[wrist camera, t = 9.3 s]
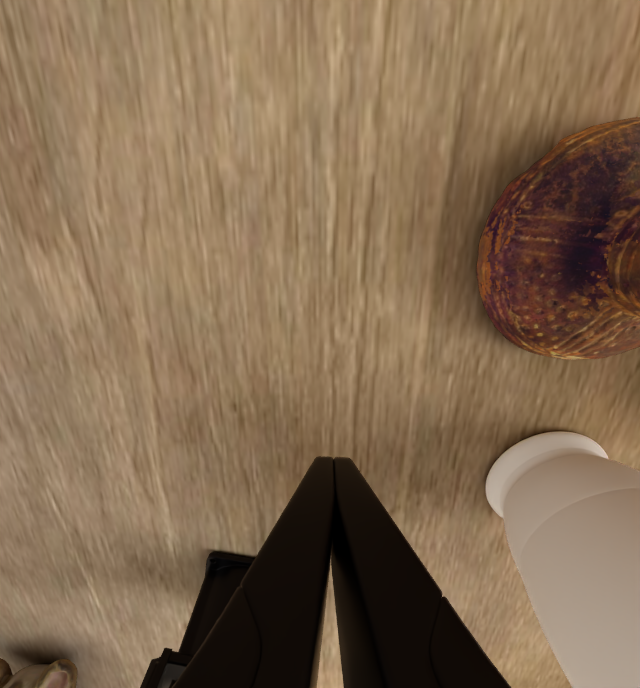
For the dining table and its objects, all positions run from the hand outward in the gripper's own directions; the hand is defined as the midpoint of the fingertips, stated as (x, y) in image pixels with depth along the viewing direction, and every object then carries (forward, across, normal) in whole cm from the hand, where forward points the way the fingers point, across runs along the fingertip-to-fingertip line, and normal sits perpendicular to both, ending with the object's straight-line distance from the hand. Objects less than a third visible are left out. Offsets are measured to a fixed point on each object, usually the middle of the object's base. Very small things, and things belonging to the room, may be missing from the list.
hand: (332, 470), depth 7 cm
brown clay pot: (+12, -14, -5) cm, 19 cm away
